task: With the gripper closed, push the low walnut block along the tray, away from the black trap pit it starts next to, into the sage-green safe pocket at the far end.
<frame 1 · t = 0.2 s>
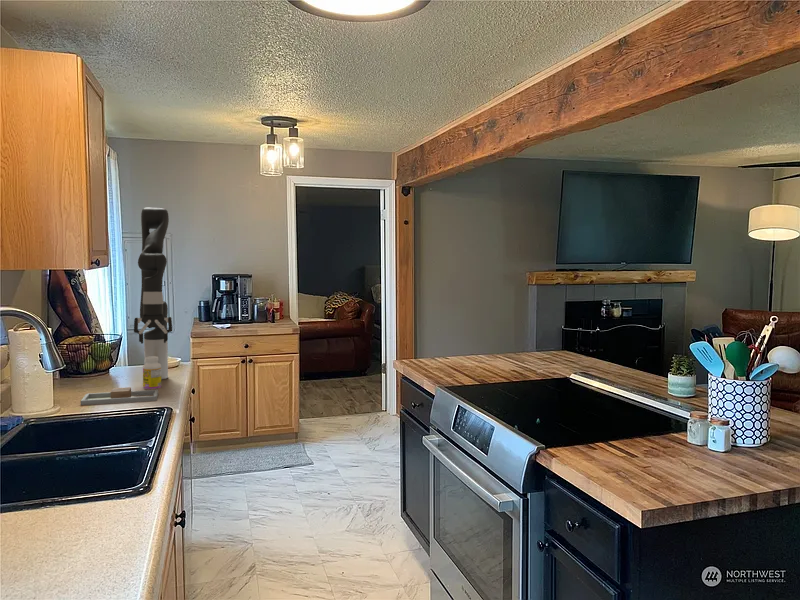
hand: (153, 343, 236), 17 cm above the worktop, tool pointing down, fingers open, 8 cm apart
block: (121, 399, 210), point 1 cm above the worktop, touching tray
supplement bottle: (152, 390, 230), on the worktop
tray: (121, 401, 210), on the worktop
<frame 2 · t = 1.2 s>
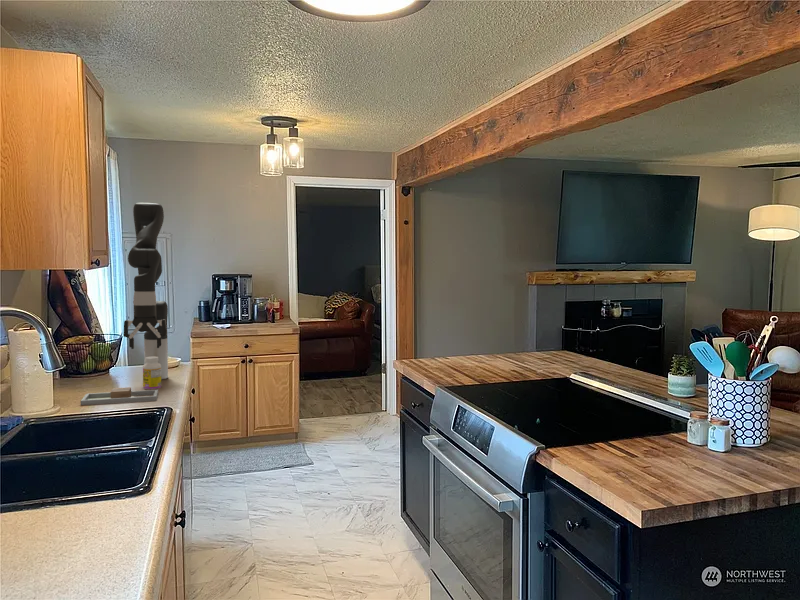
hand: (145, 348, 212), 19 cm above the worktop, tool pointing down, fingers open, 8 cm apart
nothing on the worktop moved.
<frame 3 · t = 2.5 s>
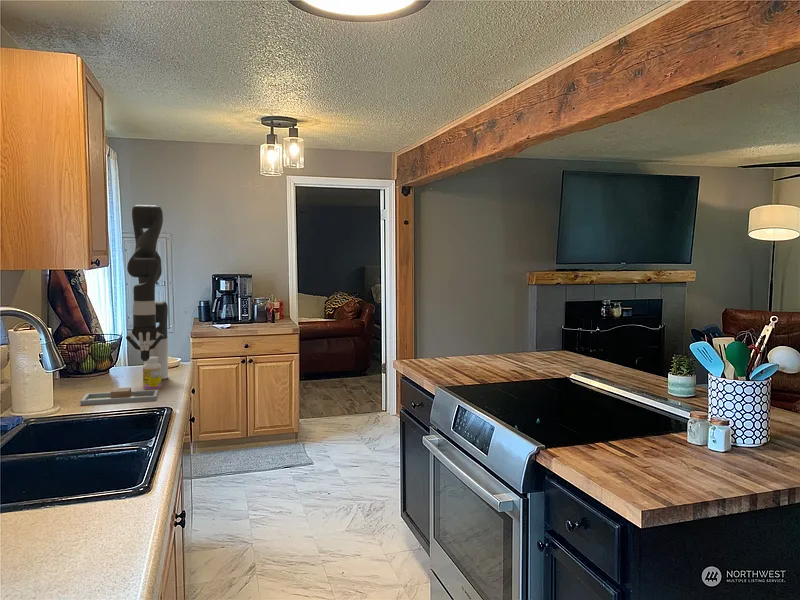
hand: (145, 360, 211), 15 cm above the worktop, tool pointing down, fingers closed
nothing on the worktop moved.
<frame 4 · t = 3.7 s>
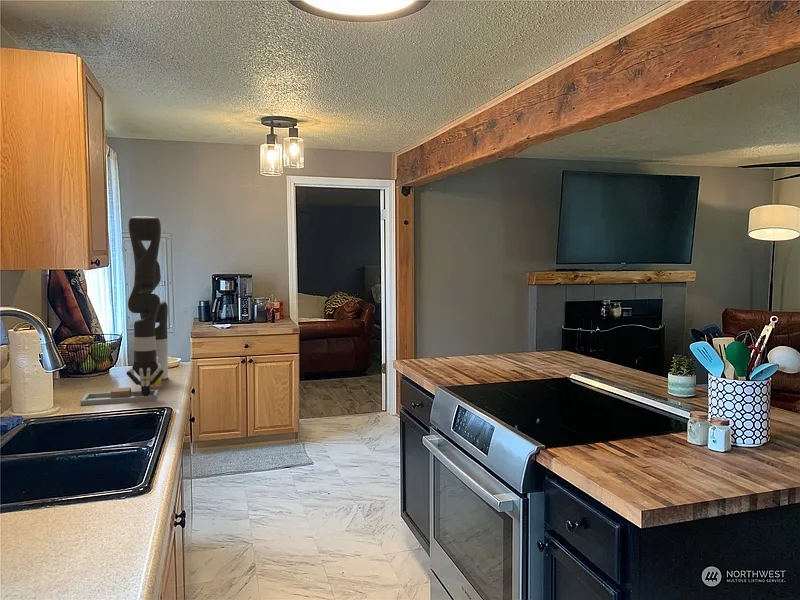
hand: (145, 395, 212), 2 cm above the worktop, tool pointing down, fingers closed
nothing on the worktop moved.
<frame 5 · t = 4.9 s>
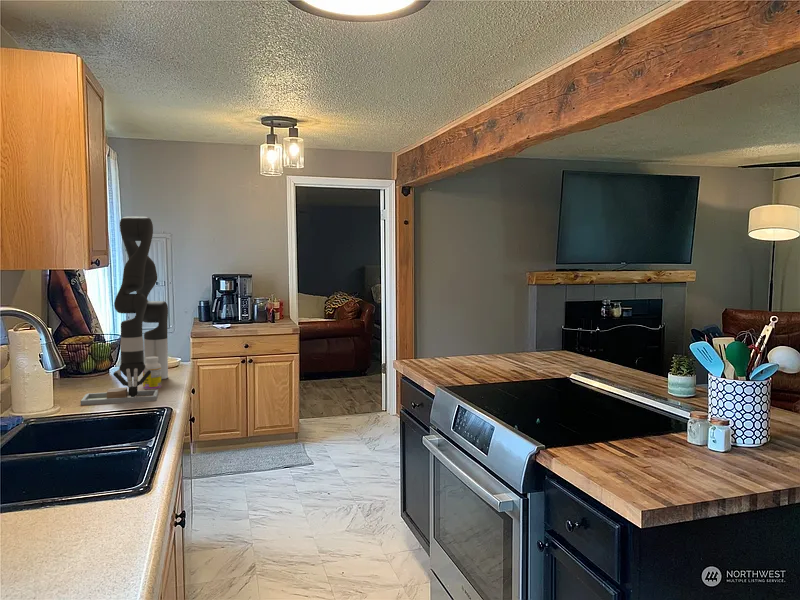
hand: (133, 396, 211), 2 cm above the worktop, tool pointing down, fingers closed
block: (117, 399, 209), point 1 cm above the worktop
everything else where it was.
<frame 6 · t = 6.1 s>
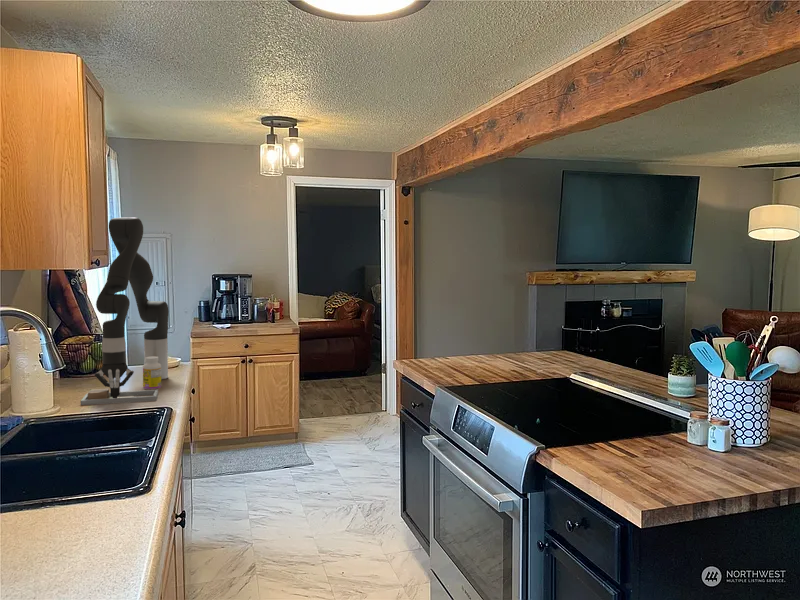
hand: (115, 397, 209), 2 cm above the worktop, tool pointing down, fingers closed
block: (98, 400, 207), point 1 cm above the worktop, touching tray
everything else where it was.
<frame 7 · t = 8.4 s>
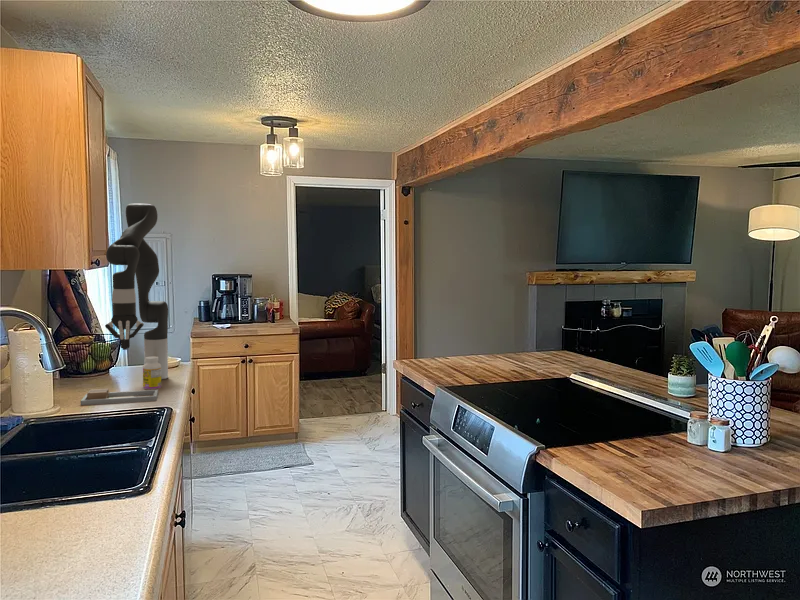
hand: (125, 349, 209), 19 cm above the worktop, tool pointing down, fingers closed
nothing on the worktop moved.
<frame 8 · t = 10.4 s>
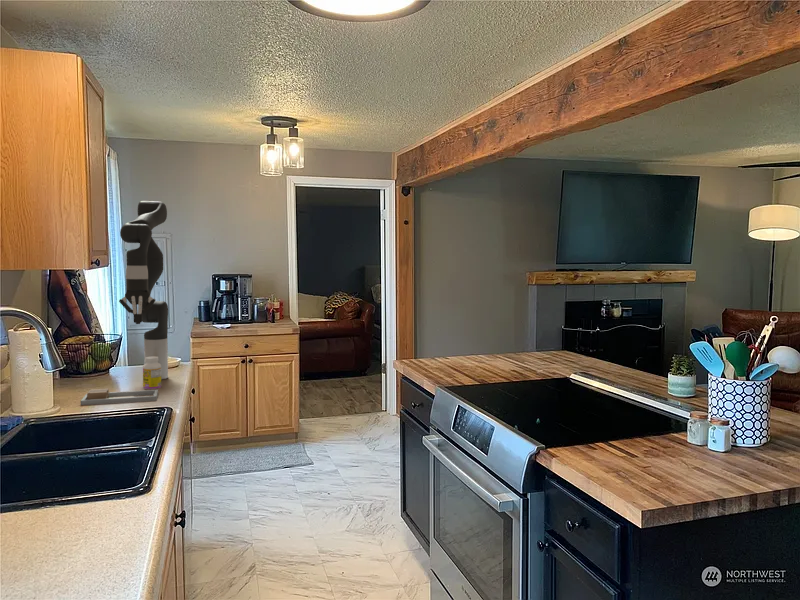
hand: (137, 323, 219), 27 cm above the worktop, tool pointing down, fingers closed
nothing on the worktop moved.
at the end: block 0.2 cm from the target spot, point 1.0 cm above the worktop; block tilted 0°; block moved 7.4 cm from its start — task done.
